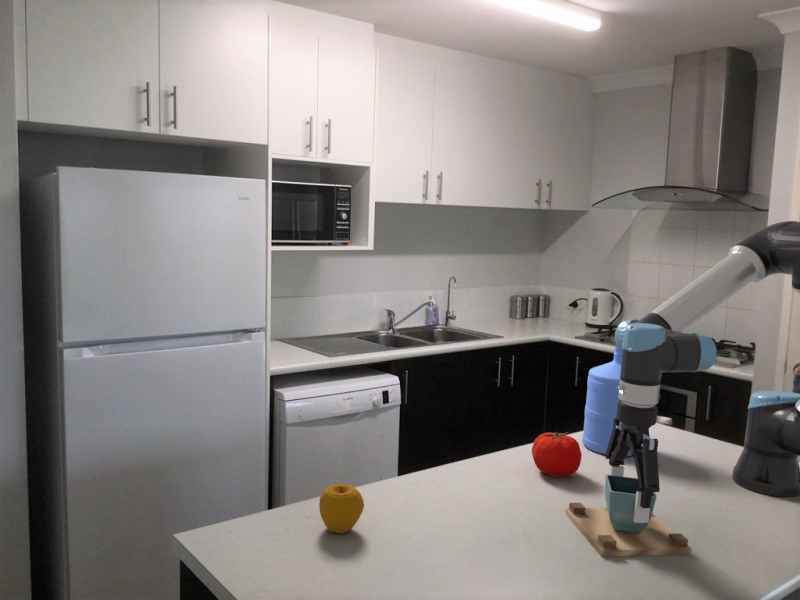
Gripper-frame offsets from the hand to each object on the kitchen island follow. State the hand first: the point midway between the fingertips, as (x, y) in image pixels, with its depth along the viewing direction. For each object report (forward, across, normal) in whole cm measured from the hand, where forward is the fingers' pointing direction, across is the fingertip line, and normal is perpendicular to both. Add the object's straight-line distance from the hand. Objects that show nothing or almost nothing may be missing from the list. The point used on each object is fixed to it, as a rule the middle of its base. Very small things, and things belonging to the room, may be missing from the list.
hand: (627, 508), depth 140 cm
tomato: (+5, -31, -3) cm, 32 cm away
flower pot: (+4, 0, 0) cm, 4 cm away
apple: (+5, -4, -57) cm, 57 cm away
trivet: (+5, 0, 0) cm, 5 cm away
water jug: (+5, -49, +20) cm, 53 cm away
